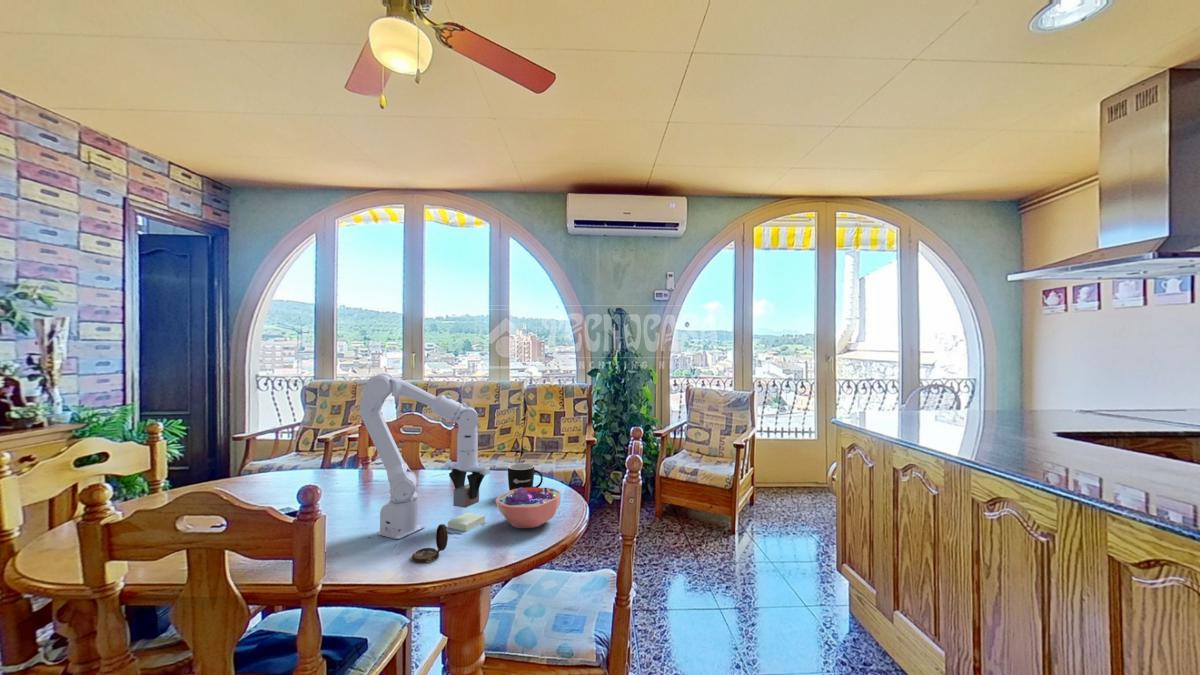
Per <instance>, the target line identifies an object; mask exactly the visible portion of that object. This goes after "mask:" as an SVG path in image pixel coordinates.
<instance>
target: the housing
mask: <svg viewBox="0 0 1200 675" xmlns="http://www.w3.org/2000/svg"><path fill="white" fill-rule="evenodd" d="M479 502H480V489H479V490H478V494H477V497H476V498H474V499H470V487H469V483H467V484H465V485H464V486H461V487H459V488H456V489H455V488H454V489H453V507H459V508H465V509H467V508H469V507H470V506H472V505H475V504H478V503H479Z"/></svg>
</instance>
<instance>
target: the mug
mask: <svg viewBox="0 0 1200 675" xmlns="http://www.w3.org/2000/svg"><path fill="white" fill-rule="evenodd" d="M535 474H539V476H540V481H539V483H538V484H537V485H536V486H534V479H535V478H534V476H535ZM543 481H544V477H543V474H542V473H541V471H539V470H537V469H535V465H534V464H532V463H525V462H518V463H513V464H510V465H508V467H507V482H508V488H509V490H508V492H509V491H510V490H513V489H518V488H520V487H522V488H540V487H541V485H542V484H543Z"/></svg>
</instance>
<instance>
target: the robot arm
mask: <svg viewBox="0 0 1200 675" xmlns="http://www.w3.org/2000/svg"><path fill="white" fill-rule="evenodd" d="M390 395H391V397H399V396H400V397H401V396H403V397H407V398H409V399H411V400H414V401H415V402H418V403H421V404H423V405H426V406H427V407H430V409H431V412H432V413H433V414H434V415H436V416H438V417H440V418H443V419H445V420H447V421H448V422H451V423H457V426H458V433H457V434H456V436H457V437H456V438H457V440H456V446H457V447H456V449H457V450H456V461H448V462H445V466H444V467H445V470H446V471H448V470H451V472H449V473H448V477H450V480H451V482H452V484H453V486H454V489H456V488H459V487H461V486H464V485H466V484H465V483H466V482H465V481H466V479H467V481H468V484H469V487H470V499H474V498H476V497H477V494H478V490H479V491H480V486H481V485H482V482H483V479H484V478H485V477H486V476H488V475H490V474H491V472H490V471H491V467H490V466H488V465H487V466H486V465H484V464H480V463H479V461H478V458H479V457H478V453H479V452H478V450H479V448H478V445H479V444H478V443H479V441H478V440H479V433H478V425H479V420H480V419H479V415H478V413H477V411H476V410H475V409H474V408H473V407H472V406H469V405H467V403H464V402H463V403H460V402H459V401H457V400H456V399H452V396H451V395H449V394H447V395H444V394H441V395H438V396H436V395H434V394H431V393H430V392H428V391H425V390H424V389H422V388H420V387H418V386H416V385H414V384H412V383H410V382H408V381H406V380H404V379H402V378H399V377H396V376H391V375H390V374H389V373H379V374H377V375H374V376H371V377H370V378H369V379H368V380H367V381H366V382H365V384H364V386H363V387H362V389H361V398H360V404H359V409H358V413H359V416H360V417H361V420H362V421H363V422H362V423H363V424H364V427H365V429H366V430H367V433H368V435H369V437H370V439H371V442H373V446H374V447H375V450H376V451H377V454H378V456H379V458H380V459H381V463H382V465H383V466H384V468H385V470H386V476H387V481H388V482H389V486H390V487H389V493H390V497H389V501H388V502H387V503H386V504H384V505H383V506H382V507H381V509H380V513H379V532H377V535H378V536H383V537H387V538H390V539H391V538H392V539H395V540H401V539H403V538H405V537H408V536H409V535H411V534H413V533H417V532H418V531H420V530H422V529H424V528H425V525H422V524H419V520H418V519H419V518H418V516H419V515H418V514H419V512H418V511H419V494H418V493H417V492H416V487H417V486H418V482H419V478H418V475H417V474H416V473H415V472H413V471H412V470H411V469H410V468H409V465H408V464H407V462H406V461H405V460H404V458H403V457H402V454H401V452H400V450H399V448H398V446H397V443H396V441H395V440H394V437H393V435H392V433H391V430H390V428H389V426H388V424H387V423H386V420H385V418H384V416H383V413H382V412H381V410H382V407H383V406H384V404H385V400H386V399H387V398H388V397H389V396H390ZM467 473H470V474H468V475H467ZM466 477H467V478H466Z"/></svg>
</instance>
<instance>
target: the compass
mask: <svg viewBox="0 0 1200 675" xmlns="http://www.w3.org/2000/svg"><path fill="white" fill-rule="evenodd" d="M447 528H448V527H447V526H446V525H445V523H440V524H439V525H438V526H437V527H436V531H435V532H436V534H435V543H436V548H434V547H424V548H420V549H418V550H417V549H416V551H415V552H414V553H412V556H411V560H412V561H413V562H416V563H422V564H423V563H432V562H434V561H435V560H436V559H437V558H438V557H440V556H439V555H440V552H441V551H442V552H443V551H444V550H445V549H446V548H447V544H448V541H449V540H448V539H449V538H448V537H449V534H448V529H447Z"/></svg>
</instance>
